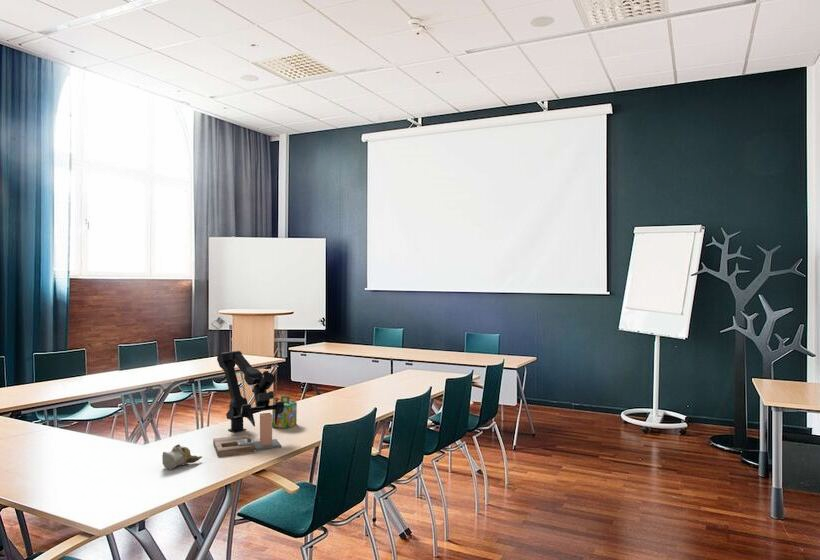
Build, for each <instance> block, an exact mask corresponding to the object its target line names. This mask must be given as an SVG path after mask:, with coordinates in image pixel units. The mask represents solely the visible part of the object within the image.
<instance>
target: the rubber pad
mask: <svg viewBox="0 0 820 560" xmlns="http://www.w3.org/2000/svg"><path fill="white" fill-rule="evenodd" d="M252 442H253V444H254V446H255V452H257V451H265V450H266V451H267V450H272V449H273V450H274V449H280V448H281V449H282V445H281V443H280V442H279V441H278V439H276V438H274V439H273V438H272V444H271V445H263V446H262V445H261V444H260V440H257V441H252Z"/></svg>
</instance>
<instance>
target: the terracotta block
mask: <svg viewBox="0 0 820 560" xmlns="http://www.w3.org/2000/svg"><path fill="white" fill-rule="evenodd" d="M272 440H273V427H272V412H263V413H259V441H260V444H261V445H262V446H263V445H271V444H272Z"/></svg>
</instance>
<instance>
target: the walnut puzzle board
mask: <svg viewBox="0 0 820 560" xmlns="http://www.w3.org/2000/svg"><path fill="white" fill-rule="evenodd" d="M247 438H250V436H249V435H248V434H243V435H242V434H241V435H233V436H225V437H224V436H223V437H217V438H216V437H215V438H213V439H212V444H213V447H214V451H215V453H216V455H217V457H219V458H220V457H226V456H227V457H228V456H235V455H242V454H243V455H244V454H249V453H255V452H256V451H255V446H254V444H250V445H242V446H238V444H237V442H236V440H241V439H247Z"/></svg>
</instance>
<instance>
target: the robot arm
mask: <svg viewBox="0 0 820 560" xmlns="http://www.w3.org/2000/svg"><path fill="white" fill-rule="evenodd" d="M216 360H217V363H218V366H219V368H221V370H222V371H223V372H224V374H225V378H226V385H227V387H228V391H229V396H230V401H229V405H228V407H229V409H228V411H227V413H226V414H225V416H226V419H227V420H230V428H228V431H229V432H231V433H239V432H240V433H241V432H244V431H247V428H244V418H247V420H249V422H250V423H251V424H252V426H253V427H256V422H255V418H254V414H253V412H263V411H265V412H266V411H272V410H274V423H275V424H276V421H277V417H278V414H281V413H282V412H283V410H284V406H285V405H284V402H283V401H281V400H280V401H275V402H274V403H273V404H274V405H273V404H272V405H270V403H271V402H270V401H271V399H274V397H275V396H274V395H275V394H274V390H272V391H271V390H270V391H268V390H269V389H270V388H271V387H272V386H273V384H274V383H275V382H276V376H275V375H274V374H273V373H271V372H269V371H268V370H264V371H263V373H262V372H261V371H260V370H259V369H257V368H255V367H253V366H252V365H251V363H250V362H249V360H247V359H246V358H245V357H244V355H243V353H242V351H241V350H234V351H226V352H219V354H218V355H217V357H216ZM236 366H237V367H238V368H239V370H240V371H241V373H242V374H243V376H244V377H243V379H244V381H245V382H246V384H247V385H248V386H252V385H254V386H253V388H252V390H251V392H252V393H253V395H254V403H255V406H252V405H251V404H250V403H248V399H247V397H243V396H242V393H241V388H240V386H239V385H240V384H239V381H238V376H237V373H236V369H235V367H236ZM267 391H268V392H267Z"/></svg>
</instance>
